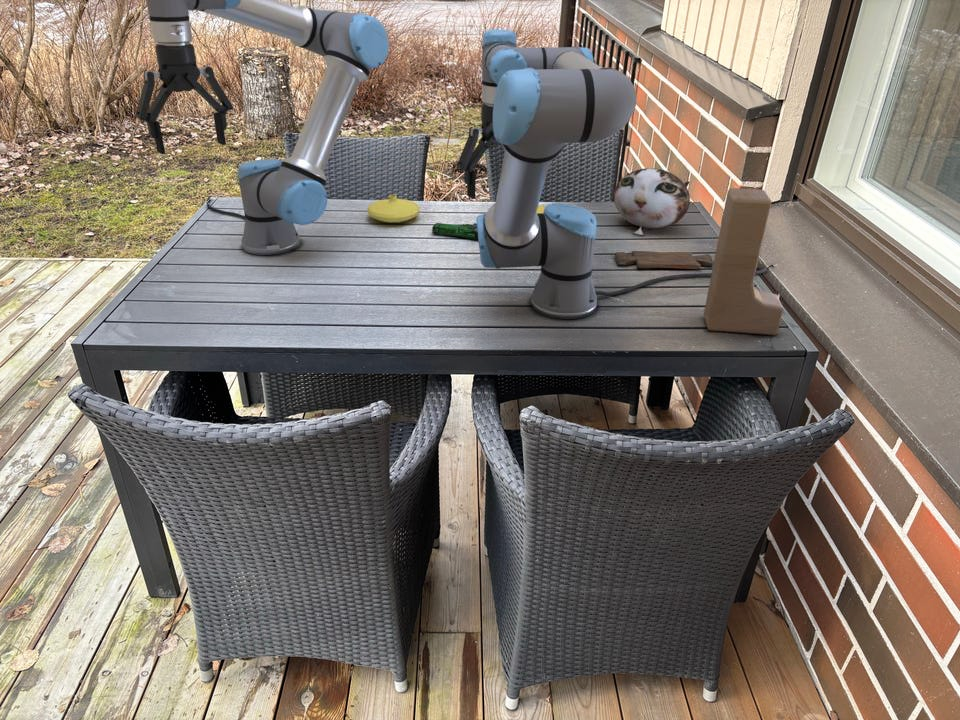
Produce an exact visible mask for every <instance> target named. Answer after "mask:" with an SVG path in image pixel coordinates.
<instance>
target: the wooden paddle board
mask: <svg viewBox="0 0 960 720" xmlns="http://www.w3.org/2000/svg"><path fill="white" fill-rule="evenodd" d="M614 256H615V258H614V259H615V261H616V264H617V265H618V266H624V267H625V266H630V265H634V264H636V267H637V269H653V268H654V269H656V268H657V269H659V268H660V269H679V270H681V269H684V270H699V269H701V268H702V266H704V267H713V264H714V260H713V259H712V255H711V254H709V253H708V254H705V253H704V254H700V255H693V252H692V251H650V250H649V251H647V250H631V253H627V252H624V251H617V252H615V253H614Z"/></svg>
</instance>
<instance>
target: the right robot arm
mask: <svg viewBox="0 0 960 720" xmlns="http://www.w3.org/2000/svg"><path fill="white" fill-rule="evenodd" d="M481 51H482V52H481V64H482V66H481V73H482V75H481V102H482V104H481V109H480V119H481V126H480V127H474V126H470V127H469V129H468V137H467V139H466V142H465V144H464V147H463V149H462V151H461V154H460V156H459V159H458V161H457V163H456V167H457V169H460V170H462V171H463V172H464V175H463V177H464V180H463V181H464V184H466V196H468V197H469V198H470V199H472V200H474V199H476V184H477V183H476V181H477V180H476V176H477V173H476V171H475V170H474V169H475V168H476V167H477V165H478V164H479V162H480V161H481V159H482V157H483V156H484V154H485V153H486V152H487V150H489V149H490V148H491V146H498V145H501V146H502V148H503V150H504V155H503V159H502V165H501V170H500V176H499V181H498V185H497V192H496V198H495V202H494V203H493V204H492V205H491V206H490V207H489V208H488V209H487V212H486V213H483V214H479V215H477V217H476V223H477V231H478V240H477V241H478V250H479V259H480V260H479V261H480V264H481V266H483V267H484V268H486V269H487V268H488V269H497V270H498V269H507V268H530V267H540V273H539V276H538V278H537V280H536V281H535V284H534V288H533V290H532V293H531V296H530V299H531V300H530V305H531V308H532V309H533V310H534V311H536V312H537V313H539V314H541V315H543V316H546V317H549V318H552V319H558V320H576V319H583V318H586V317H588V316H590V315H592V314H594V312H595V311H596V310H597V304H598V297H597V296H604V297H613V296H617V295H622V294H626V293H628V292H631V291H634V290H636V289H639V288H642V287H645V286H648V285H651V284H653V283H657V282H661V281H668V280H675V279H684V278H705V277H711V274H712V272H699V273H697V272H695V273H681V274H680V273H679V274H671V275H665V276H660V277H656V278H652V279H648V280H645V281H643V282H640V283H638V284H635V285H632V286H629V287H626V288H623V289H620V290H616V291H615V290H614V291H610V292H609V291H602V290H596V289H595V284H594V281H593V266H594V257H595V246H596V238H597V237H598V236H597V218H596V215H595V214H594V213H592V212H591V211H590V210H588V209H586V208H584V207H580V206H578V205H574V204H570V203H562V202H561V203H560V202H556V203H554V202H553V203H551V204H547V205H546V206H544V207H545V209H544V213H536V211H537V208H538V206H539V204H540V201H541V197H542V192H543V190H544V187H545V183H546V179H547V175H548V172H549V169H550V165H551V162H552V161H553V160H555V159H557V158H558V156H560V154H561V153H562V152H563V150H564V147H565V144H576V143H578V144H579V143H580V144H581V143H594V142H600V141H603V140H606V139H608V138H610V137H612V136H614V135H615V134H617V133H618V132H620V131H621V130H622V129H623V128H624V127H625V126H626V125H627V124H628V123H629V121H630V120H631V118H632V116H633V115H634V111H635V110H636V104H637V93H636V89H635V86H634V84H633V82H632V81H631V79H630V78H629V77H628V76H627V75H626V74H625V73H624V72H621V71H620V70H618V69H616V68H613V67H608V66H607V67H605V66H604V67H601V66H600V65H598V64H597V63H595V62H594V56H593V52H592V50H591V49H590V48H589V47H579V46H570V47H569V46H568V47H567V46H565V47H561V46H560V47H558V46H557V47H544V46H542V47H540V46H539V47H538V46H536V47H533V46H529V47H527V46H525V47H524V46H521V47H519V46H518V43H517V34H516V32H515V31H513V30H510V29H488V30H485V31H484V33H483V34H482V45H481ZM477 143H478V144H477ZM766 271H767V270H764V269H763V268H761V269H759V270H756V272H755V276H756V275H761V274H763V273H765V272H766Z"/></svg>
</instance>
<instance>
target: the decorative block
mask: <svg viewBox="0 0 960 720" xmlns="http://www.w3.org/2000/svg"><path fill="white" fill-rule="evenodd" d="M771 207H772V200H771V199H770V196H769V195H768V194H767V192H766V191H765V190H764V189H755V188H753V189H752V188H737V187H736V188H735V187H731V188H728V190H727V193H726V198H725V203H724V207H723V213H722V218H721V224H720V227H719V228H720V229H719V234H718V239H717V244H716V249H715V254H714V259H713V265H712V269H711V273H712V274H711V276H710V280H709V285H708V289H707V295H706V301H705V304H704V305H705V306H704V310H703V317H704V318H703V319H704V321H705V324H706V328H707V330H708V331H715V332H727V333H728V332H729V333H743V334H753V335H754V334H756V335H766V336H767V335H768V336H777V335H778V334H779V333H778V332H779V329H780V325H781V322H782V317H783V313H784V310H785V309H784V306H783V304H782V302H781V300H780V297H779V295H778V294H776V293H772V292H767V291H763V290H758V289H757V288H756V287H755V285H754V280H755V276H756V275H755V272H756V271H757V267H758V263H759V259H760V254H761V250H762V246H763V241H764V237H765V233H766V228H767V225H768V220H769V216H770V210H771Z"/></svg>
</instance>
